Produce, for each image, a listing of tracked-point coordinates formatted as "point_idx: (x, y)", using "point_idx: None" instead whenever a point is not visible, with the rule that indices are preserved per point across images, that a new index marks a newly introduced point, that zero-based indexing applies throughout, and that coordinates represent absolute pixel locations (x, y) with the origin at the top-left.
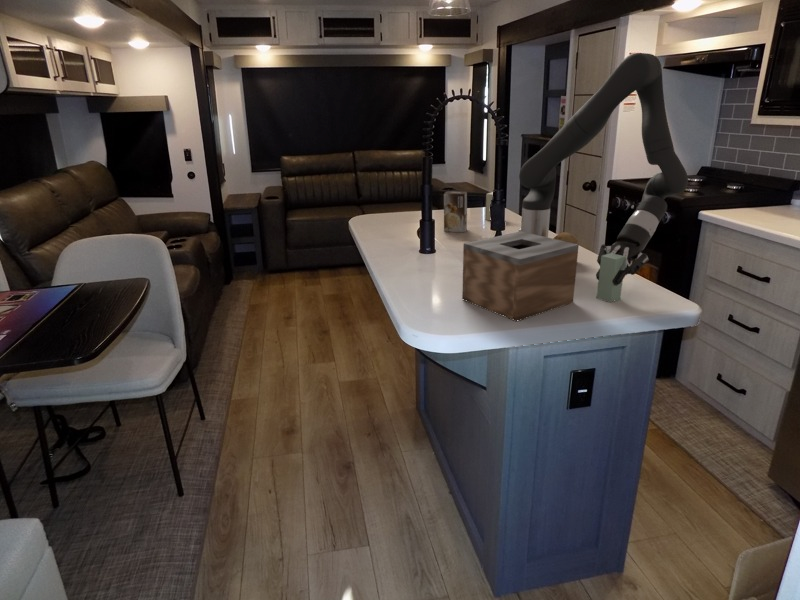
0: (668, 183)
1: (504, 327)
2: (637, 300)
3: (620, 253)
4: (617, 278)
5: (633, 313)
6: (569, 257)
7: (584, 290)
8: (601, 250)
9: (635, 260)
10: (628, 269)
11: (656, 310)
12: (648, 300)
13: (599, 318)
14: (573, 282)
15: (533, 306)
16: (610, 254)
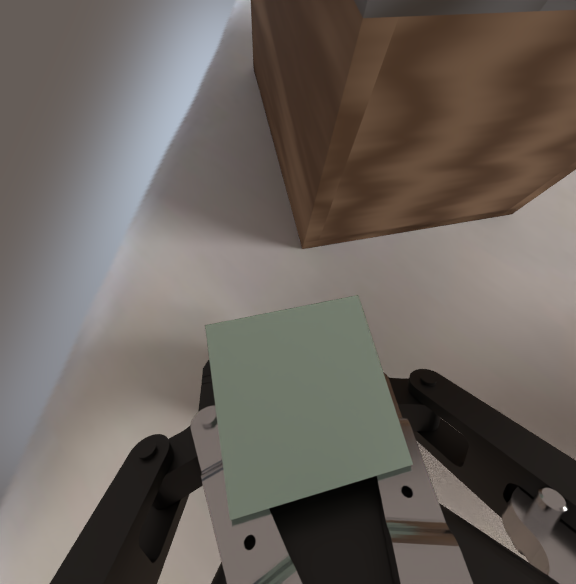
0: None
1: (238, 40)
2: (202, 493)
3: (349, 554)
4: None
5: (114, 353)
6: (325, 12)
7: (393, 369)
8: (549, 459)
9: (112, 563)
10: (158, 434)
11: (72, 471)
12: (174, 550)
13: (154, 225)
14: (312, 195)
15: (264, 81)
16: (368, 412)
